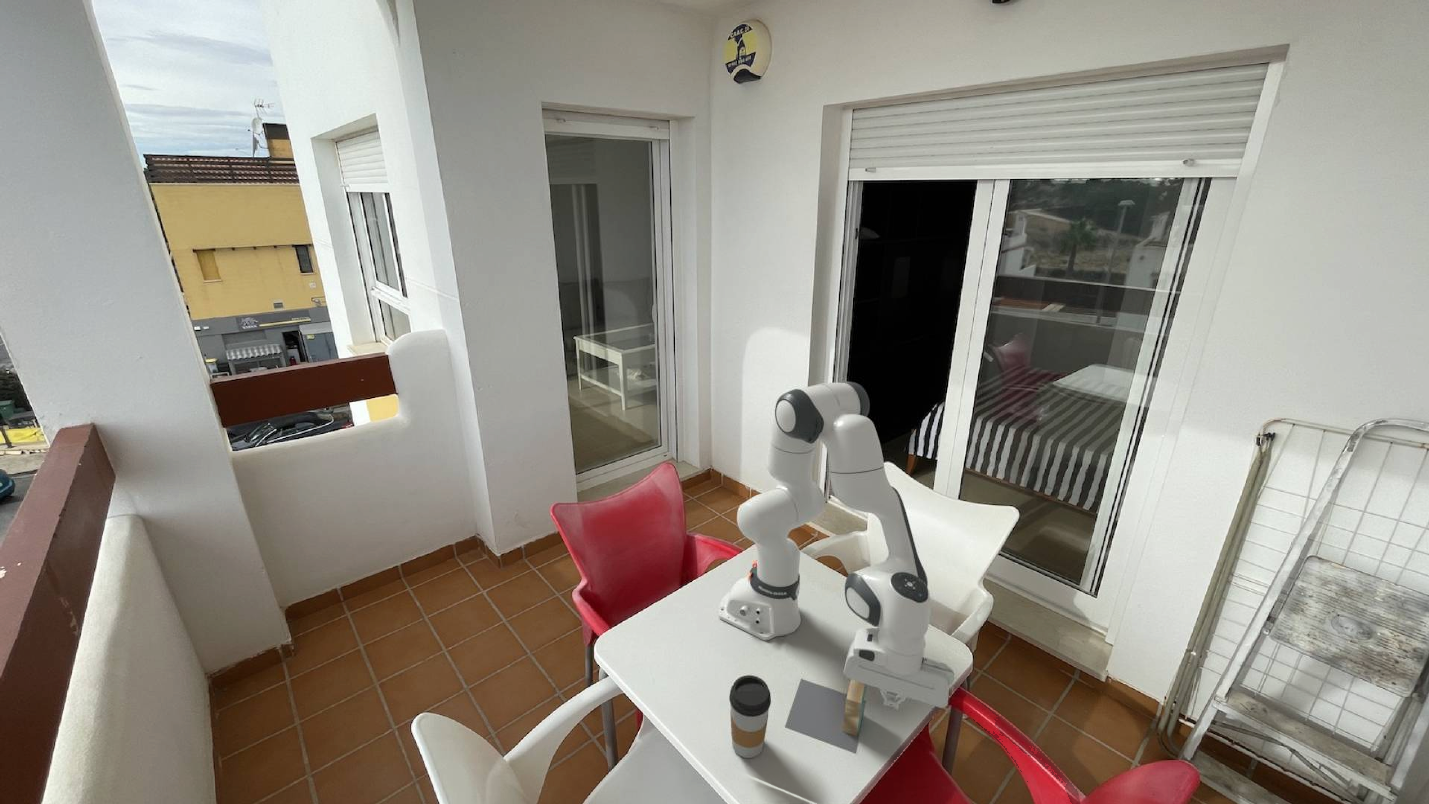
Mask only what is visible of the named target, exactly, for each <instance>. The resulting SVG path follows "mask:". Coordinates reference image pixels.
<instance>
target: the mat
mask: <svg viewBox="0 0 1429 804" xmlns="http://www.w3.org/2000/svg"><path fill="white" fill-rule="evenodd" d="M796 689H797V690H796V693H795V696H794V699H793V702H792V704H791V708H790V710H789V714H788V716H787V719H786V723H785V726H784V728H786V729H788V730H791V731H794V732H797V733H799V734H802V735H805V736H807V737H810V738H813V739H816V740H818V741H821V742H824V743H827V744H829V745H832V746H835V747H837V748H839V749H843V750H844V751H848V752H851V753H853V754H857V749H858V744H859V739H860V733H861V729H862V723H863V719H864V718H863V717H864V713H865V708H866V707H865V706H866V699H864V705H863V712H862V718H861V723H860V728H859V733H857V736H854V735H852V734H849V733H846V732H843V731H842V729H843V722H844V714H845V707H846V699H847V694H848V693H844V692H841V691H838V690H836V689H833V688H829V687H827V686H824V685H820V684H817V683H815V682H812V681H809V680H806V679H803V678H800V680H799V684H798V687H797V688H796Z"/></svg>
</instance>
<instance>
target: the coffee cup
mask: <svg viewBox="0 0 1429 804" xmlns="http://www.w3.org/2000/svg"><path fill="white" fill-rule="evenodd" d="M728 698H729V703H730V734H731V744H732V749H733V751H734V752H735V753H736V754H737V755H738V756H740V757H742V758H744V759H753V758H756V757H758V756H759V755H760V754H761V752H762V751H763V748H764V743H765V742H764V741H765V738H766V732H767V724H768V720H769V719H768V718H769V711H770V707H771V704H772V700H771V698H772V696H771V691H770V689H769V686H768V684H767V683H766V681H764V679H762V678H761V677H758V676H756V675H751V674H750V675H749V674H747V675H743V676H740V677H738V678H737V679H736V680H735V681H734V682H733V684H732V685H731V688H730V689H729V697H728Z"/></svg>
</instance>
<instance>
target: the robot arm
mask: <svg viewBox="0 0 1429 804" xmlns="http://www.w3.org/2000/svg"><path fill="white" fill-rule="evenodd" d="M870 403H871V402H870V399H869V395H868V393H867V391H866V390H865V388H864V387H863V386H862V385H860V384H859V383H856V382H853V381H845V380H842V381H841V380H840V381H837V382H822V383H817V384H814V385H810V386H805V387H802V388H795V389H791V390H789V391H787V392H785V393H782V394H781V395H780V396H779V397H778V399H777V401H776V404H775V409H774V418H773V421H772V426H771V429H770V433H769V441H768V449H767V455H766V462H765V463H766V464H765V466H766V469H767V471H768V473H769V474H770V476H771V477H772V478H773V479H775V480H776V481H778V483H777V485H776V487H774V488H773V489H771V490H768V491H765V492H762V493H759V494H757V495H754V496H753V497H750V498H749V499H748V500H746V501H744V502H743V503H742V504H740V505H739V507H738V509H737V514H736V523H737V526H738V528H739V531H740V532H741V533H742V535H743V536H744V537H746V538H747V539H748V540H750V541H751V542H753V543H754V544H755V546H756V552H757V554H756V557H757V558H756V559H755V560H753V563H752V564H751V566H752V567H751V569H750V570H749V574H748V576H745V577H740V579H738V580H737V581H736V582H735V583H734V585H732V587H731V589H730V590H729V591H727V592H726V594H725V595H724V596H723V598H722V599H721V601H720V603H719V607H718V612H717V613H718V618H719V619H720V620H722V621H724V622H726V623H728V624H730V625H731V626H734V627H736V628H738V629H740V630H742V631H745V632H746V633H748V634H750V635H753V636H755V637H756V638H758V639H760V640H763V641H769V640H772V639H773V638H775V637H781V636H786V635H790V634H792V633H794V632H795V631H796V630H797V629H798V628H799V627H800V626H801V622H802V617H801V614H800V609H799V599H798V596H799V594H800V589H801V588H800V587H801V577H800V572H799V571H800V560H801V550H800V549H799V546H798V545H797V543H796V542H795V541H794V540H792V538H789V536H788V535H789V533H790V532H791V531H793V530H794V529H797V528H799V527H802V526H805V525H806V524H809V523H811V522H812V521H813V520H815V519H817V518H818V517H819V516H820V515H821V514H822V513H823V512H824V510H825V507H826V497H825V494H824V492H823V490H822V489H821V488H820V486H819V485H818V484H817V483H815V482H814V480H813V463H814V457H815V451H816V445H817V440H819V441H820V442H822V443H823V445H824V447H825V449H826V452H827V461H828V468H829V478H830V484H831V488H832V492H833V494H834V496H835V498H836V499H837V501H839V502H840V503H841V504H842V505H843V506H845V507H847V508H849V509H851V510H855V511H857V512H863V513H869V514H872V515H874V516H875V517H876V518H877V519H878V521H879V522H880V525H881V530H882V532H883V536H884V540H885V544H886V547H887V550H888V555H887V557H886V559H885V560H884V561H881V562H879V563H876V564H873V565H871V566H866V567H864V568H861V569H859V570H856V571H854V572H851V573H849V574H848V575H847V577H846V580H845V583H844V597H845V602H846V604H847V606H848V608H849V610H850V611H852V612H853V614H855V616H857V617H859V618H860V619H861V620H863V621H864V622H866V623H868V624H869V625H871V626H872V627H876V628H869V627H868V628H866V627H864V628H858V629H857V631H856V633H855V637H854V640H853V641H852V642H851V643H850V646H849V649H848V652H847V655H846V658H845V659H846V660H845V662H844V663H845V664H844V668H843V674H844V676H845V678H847V679H849V680H850V681H851V680H855V681H858V682H861V683H864V684H865V685H866V686H871V687H874V688H877V689H879V693H880V694H881V697H882V698H883V706H887V707H889V708H891V709H892V708H893V709H896V710H899V706H900V704H902V703H903V702H904V701H905V700H906V699H907V698H908V699H911V700H915V701H918V702H921V703H924V704H928V705H931V706H933V707H937V708H939V709H943V708H946V707H947V706H948V704H949V695H950V694H949V693H950V692H949V688H950V687H949V686H950V685H952V684H953V683H954V680H955V672H954V670H953V669H952V668H951V667H949V666H948V664H946V663H943V662H939V661H935V660H933V659H930V658H927V657H925V656H924V653H925V648H926V640H925V639H926V638H925V636H926V634H927V632H928V630H929V625H930V620H931V611H932V610H931V608H932V607H931V606H932V601H931V595H930V591H929V588H928V585H929V584H928V582H929V581H928V576H927V573H926V570H925V569H924V566H923V564H922V562H921V559H920V557H919V555H918V551H917V547H916V544H915V541H914V540H915V539H914V536H913V533H912V529H911V525H910V523H909V518H908V513H907V511H906V507H905V505H904V501H903V499H902V496H901V494H900V493H899V491H898V490H897V489H896V488H895V487H894V486H892V484H891V483H890V481H889V478H888V477H887V472H886V468H885V463H884V457H883V452H882V451H883V450H882V446H881V442H880V439H879V436H878V432H877V430H876V427H875V424H874V422H873V421H872V420H871V419H870V418H869V417H868V416H869V414H870V407H871V405H870ZM889 692H890V693H889ZM891 693H892V694H891ZM894 694H895V695H894ZM896 694H897V695H896Z"/></svg>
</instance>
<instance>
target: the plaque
mask: <svg viewBox="0 0 1429 804" xmlns="http://www.w3.org/2000/svg"><path fill="white" fill-rule="evenodd" d="M866 689H867V684H864V683H861V682H858V681H855V680H851V679H850V682H849V687H848V691H847V693H846V694H847V699H846V707H845V714H844V722H843V729H842V731H843V732H846V733H849V734H852V735H854V736H857V733H859V728H860V723H861V718H862V712H863V705H864V700H865V698H866ZM862 719H863V718H862Z"/></svg>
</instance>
